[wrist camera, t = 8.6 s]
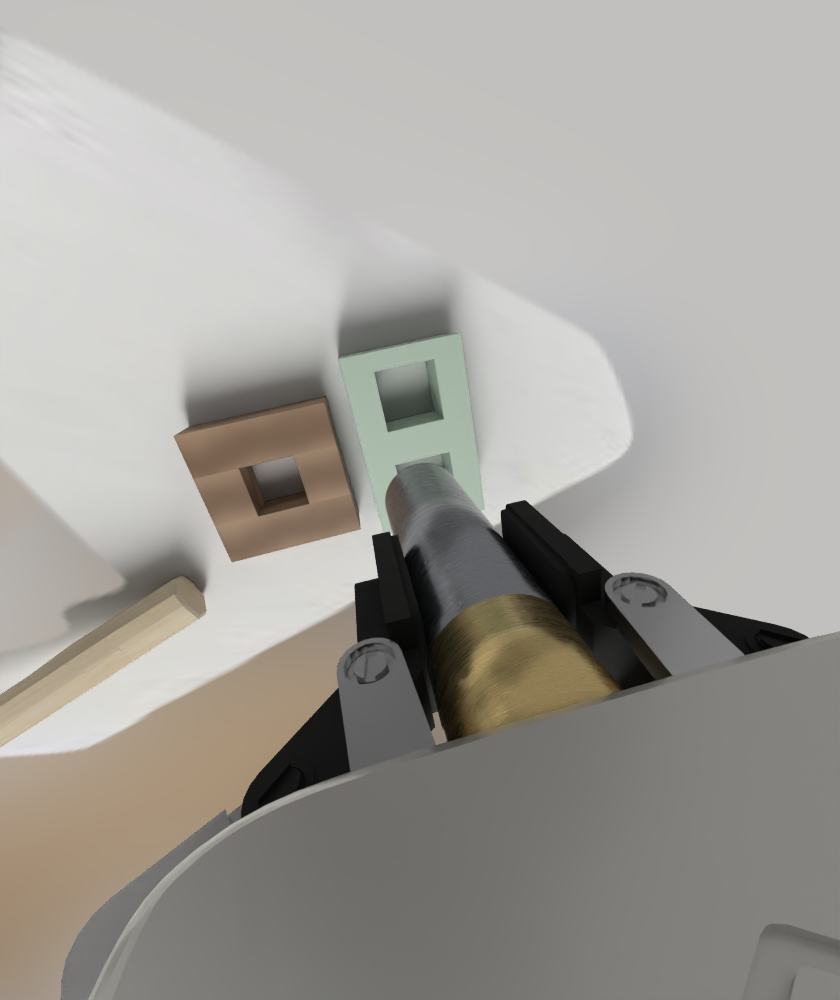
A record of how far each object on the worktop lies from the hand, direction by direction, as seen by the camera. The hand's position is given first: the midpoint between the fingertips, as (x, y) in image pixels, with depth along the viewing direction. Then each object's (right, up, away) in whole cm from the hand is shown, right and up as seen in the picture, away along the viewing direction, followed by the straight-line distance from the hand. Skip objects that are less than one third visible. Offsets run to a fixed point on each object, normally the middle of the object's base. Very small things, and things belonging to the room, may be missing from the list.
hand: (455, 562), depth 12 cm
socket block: (-14, +4, +25) cm, 29 cm away
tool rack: (-2, +8, +26) cm, 28 cm away
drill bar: (-1, +2, +5) cm, 5 cm away
